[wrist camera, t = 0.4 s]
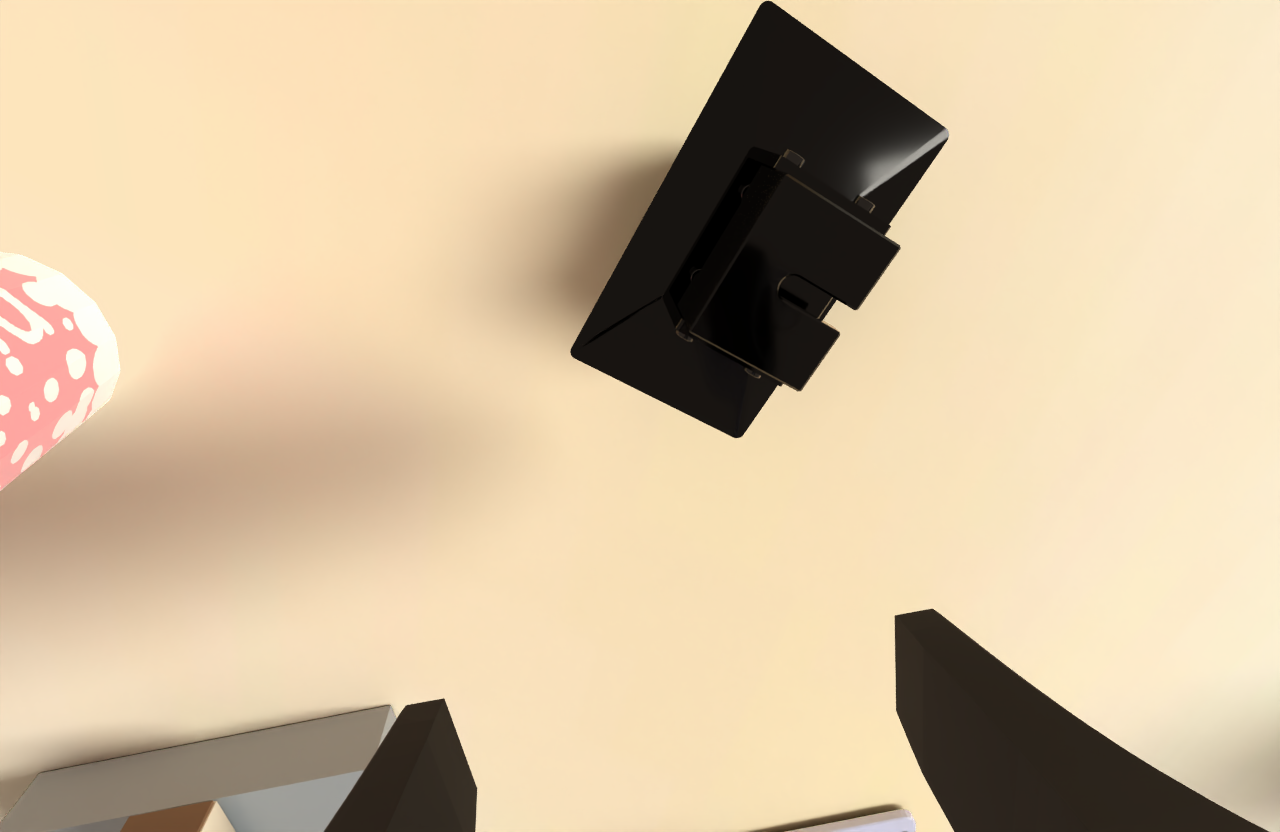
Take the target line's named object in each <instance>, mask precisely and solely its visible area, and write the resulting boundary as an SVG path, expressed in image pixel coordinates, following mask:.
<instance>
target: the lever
mask: <svg viewBox="0 0 1280 832" xmlns="http://www.w3.org/2000/svg"><path fill="white" fill-rule="evenodd" d="M120 832H236V831H235V830H234V828H233V827H232V825H231V823H230V822H229V820H228V818H227V817H226V815H225V814H224V812H223V810H222V809H221V807H220V805H219V804H218V802H217V801H213V800H212V801H207V802H202V803H197V804H191V805H186V806H181V807H176V808H171V809H166V810H160V811H155V812H150V813H145V814H140V815H135V816H130V817H129V818H128V819H127V821H126V823H125V824H124V826H123V827H122V829H121V831H120Z"/></svg>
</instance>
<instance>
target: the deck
mask: <svg viewBox="0 0 1280 832" xmlns="http://www.w3.org/2000/svg"><path fill="white" fill-rule="evenodd" d="M395 721H396V716H395V714H394V712H393V709H392V707H391V705H389V706H384V707H379V708H374V709H369V710H364V711H358V712H353V713H348V714H343V715H338V716H332V717H327V718H322V719H317V720H312V721H307V722H301V723H296V724H291V725H286V726H281V727H276V728H270V729H265V730H260V731H255V732H250V733H245V734H239V735H234V736H229V737H224V738H219V739H214V740H208V741H203V742H198V743H193V744H188V745H183V746H177V747H172V748H167V749H162V750H157V751H152V752H146V753H141V754H136V755H131V756H126V757H120V758H115V759H110V760H105V761H100V762H95V763H89V764H84V765H79V766H74V767H69V768H64V769H58V770H53V771H48V772H43V773H39V774H38V775H37V777H36V778H35V779H34V780H33V782H32V783H31V784H30V786H29V787H28V788H27V789H26V791H25V792H24V793H23V795H22V796H21V797H20V798H19V800H18V801H17V802H16V804H15V805H14V806H13V807H12V809H11V810H10V811H9V813H8V814H7V815H6V816H5V818H4V819H3V820H2V822H1V823H0V832H120V831H121V829H122V827H123V826H124V824H125V823H126V821H127V819H128V818H129V817H130V816H135V815H140V814H145V813H150V812H155V811H160V810H166V809H171V808H176V807H181V806H186V805H191V804H197V803H202V802H207V801H212V800H213V801H217V802H218V804H219V805H220V807H221V809H222V810H223V812H224V814H225V815H226V817H227V818H228V820H229V822H230V823H231V825H232V827H233V828H234V830H235V831H236V832H324V830H325V829H326V827H327V826H328V824H329V823H330V821H331V820H332V818H333V817H334V815H335V814H336V812H337V811H338V809H339V808H340V806H341V805H342V803H343V802H344V800H345V799H346V797H347V796H348V794H349V793H350V791H351V790H352V788H353V787H354V785H355V784H356V782H357V781H358V779H359V777H360V776H361V774H362V773H363V771H364V770H365V768H366V767H367V765H368V763H369V762H370V760H371V759H372V757H373V756H374V754H375V752H376V751H377V749H378V748H379V746H380V744H381V743H382V741H383V740H384V738H385V737H386V735H387V733H388V732H389V730H390V729H391V727H392V725H393V724H394V722H395Z"/></svg>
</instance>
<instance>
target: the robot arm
mask: <svg viewBox="0 0 1280 832" xmlns="http://www.w3.org/2000/svg"><path fill="white" fill-rule="evenodd" d="M895 662H896V711H897V714H898V716H899V719H900V721H901V724H902V726H903V728H904V731H905V733H906V736H907V738H908V741H909V743H910V746H911V748H912V750H913V753H914V755H915V757H916V759H917V762H918V764H919V766H920V769H921V771H922V773H923V775H924V777H925V779H926V781H927V783H928V785H929V786H930V788H931V790H932V792H933V794H934V796H935V797H936V799H937V801H938V803H939V805H940V806H941V808H942V810H943V812H944V814H945V815H946V817H947V819H948V821H949V823H950V825H951V826H952V828H953V830H954V832H1269V831H1267V830H1265V829H1263V828H1261V827H1259V826H1257V825H1255V824H1253V823H1251V822H1249V821H1247V820H1245V819H1244V818H1242V817H1240V816H1238V815H1236V814H1234V813H1232V812H1231V811H1229V810H1227V809H1225V808H1223V807H1221V806H1220V805H1218V804H1216V803H1214V802H1212V801H1211V800H1209V799H1207V798H1205V797H1204V796H1202V795H1200V794H1198V793H1197V792H1195V791H1193V790H1192V789H1190V788H1188V787H1186V786H1185V785H1183V784H1181V783H1180V782H1178V781H1176V780H1174V779H1173V778H1171V777H1169V776H1167V775H1166V774H1164V773H1162V772H1161V771H1159V770H1157V769H1156V768H1154V767H1152V766H1151V765H1149V764H1147V763H1146V762H1144V761H1143V760H1141V759H1139V758H1138V757H1136V756H1134V755H1133V754H1131V753H1130V752H1128V751H1127V750H1125V749H1124V748H1122V747H1120V746H1119V745H1117V744H1116V743H1114V742H1113V741H1111V740H1110V739H1108V738H1107V737H1105V736H1104V735H1102V734H1101V733H1099V732H1098V731H1096V730H1095V729H1093V728H1092V727H1090V726H1089V725H1087V724H1086V723H1085V722H1083V721H1082V720H1080V719H1079V718H1077V717H1076V716H1074V715H1073V714H1072V713H1070V712H1069V711H1067V710H1066V709H1064V708H1063V707H1062V706H1060V705H1059V704H1058V703H1056V702H1055V701H1053V700H1052V699H1051V698H1049V697H1048V696H1047V695H1045V694H1044V693H1042V692H1041V691H1040V690H1038V689H1037V688H1035V687H1034V686H1033V685H1031V684H1030V683H1029V682H1027V681H1026V680H1025V679H1023V678H1022V677H1021V676H1019V675H1018V674H1017V673H1015V672H1014V671H1013V670H1011V669H1010V668H1009V667H1007V666H1006V665H1005V664H1003V663H1002V662H1001V661H1000V660H998V659H997V658H996V657H994V656H993V655H992V654H990V653H989V652H988V651H987V650H985V649H984V648H983V647H981V646H980V645H979V644H978V643H976V642H975V641H974V640H973V639H971V638H970V637H969V636H967V635H966V634H965V633H964V632H962V631H961V630H960V629H959V628H957V627H956V626H955V625H954V624H952V623H951V622H950V621H948V620H947V619H946V618H945V617H943V616H942V615H941V614H939V613H938V612H937V611H935V610H934V609H928V610H923V611H917V612H912V613H906V614H901V615H895ZM476 801H477V787H476V784H475V782H474V779H473V776H472V773H471V771H470V768H469V765H468V762H467V760H466V757H465V754H464V751H463V749H462V746H461V743H460V740H459V738H458V735H457V732H456V729H455V727H454V724H453V721H452V718H451V716H450V713H449V710H448V707H447V705H446V702H445V699H439V700H433V701H428V702H422V703H417V704H411V705H406V706H405V708H404V709H403V710H402V712H401V713H400V715H399V716H398V718H397V719H396V721H395V722H394V724H393V725H392V727H391V729H390V730H389V732H388V733H387V735H386V737H385V738H384V740H383V741H382V743H381V744H380V746H379V748H378V749H377V751H376V752H375V754H374V756H373V757H372V759H371V760H370V762H369V763H368V765H367V767H366V768H365V770H364V771H363V773H362V774H361V776H360V777H359V779H358V781H357V782H356V784H355V785H354V787H353V788H352V790H351V791H350V793H349V794H348V796H347V797H346V799H345V800H344V802H343V803H342V805H341V806H340V808H339V809H338V811H337V812H336V814H335V815H334V817H333V818H332V820H331V821H330V823H329V824H328V826H327V827H326V829H325V830H324V832H475V825H476ZM786 832H916V823H915V820H914V818H913V815H912V813H911V812H910V811H908V810H904V809H899V810H894V811H888V812H883V813H878V814H873V815H868V816H863V817H858V818H853V819H848V820H842V821H837V822H832V823H827V824H822V825H817V826H812V827H807V828H801V829H796V830H791V831H786Z"/></svg>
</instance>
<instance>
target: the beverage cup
mask: <svg viewBox="0 0 1280 832" xmlns="http://www.w3.org/2000/svg"><path fill="white" fill-rule="evenodd" d="M119 374H120V364H119V357H118V350H117V343H116V337H115V335H114V333H113V332H112V330H111V328H110V327H109V325H108V323H107V322H106V320H105V318H104V316H103V315H102V313H101V311H100V310H99V308H98V306H97V305H96V303H95V302H94V301H93V300H92V299H91V298H90V297H88V296H87V295H86V294H85V293H84V292H83V291H82V290H80V289H79V288H78V287H77V286H76V285H75V284H74V283H72V282H71V281H70V280H69V279H68V278H67V277H66V276H65V275H63V274H62V273H60V272H58V271H56V270H54V269H51V268H49V267H47V266H45V265H43V264H41V263H38V262H36V261H34V260H32V259H30V258H27V257H25V256H23V255H21V254H13V253H4V252H0V491H1V490H2V489H3V488H4V487H6V486H7V485H8V484H9V483H10V482H12V481H13V480H14V479H15V478H17V477H18V476H19V475H20V474H21V473H23V472H24V471H25V470H26V469H28V468H29V467H30V466H31V465H32V464H34V463H35V462H36V461H37V460H38V459H40V458H41V457H42V456H43V455H45V454H46V453H47V452H48V451H49V450H51V449H52V448H53V447H54V446H56V445H57V444H58V443H59V442H60V441H62V440H63V439H64V438H65V437H66V436H68V435H69V434H70V433H71V432H73V431H74V430H75V429H76V428H77V427H79V426H80V425H81V424H82V423H84V422H85V421H86V420H87V419H88V418H89V417H91V416H92V415H93V414H94V413H95V412H96V411H98V410H99V409H100V408H101V407H102V406H103V405H105V404H106V403H107V402H108V401H109V400H110V399H111V396H112V394H113V391H114V388H115V385H116V382H117V379H118V377H119Z"/></svg>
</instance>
